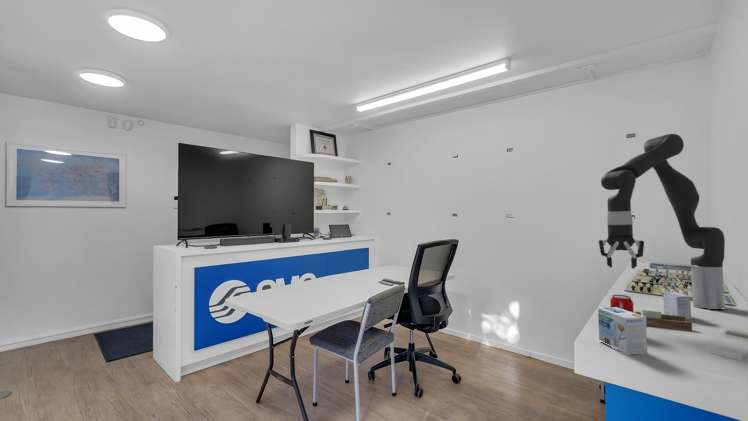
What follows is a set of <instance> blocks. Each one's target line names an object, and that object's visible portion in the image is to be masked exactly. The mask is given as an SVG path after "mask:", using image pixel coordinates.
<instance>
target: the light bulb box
mask: <svg viewBox="0 0 748 421" xmlns="http://www.w3.org/2000/svg"><path fill="white" fill-rule="evenodd" d="M597 313H598V314H597V315H598V341H599V340H601V341H603V342H605V343H607V344H609V345H611V346H613V347H615V348H617V349H618V350H620V351H621V352H622V353H621V352H620V353H621V354H623V353H624V354H623V355H626V356H632V355H631V354H640V355H648V337H647V336H648V333H647V332H648V331H647V325H646V317H645V316H642V315H639V314H636V313H635V312H634V313H633V312H630V311H627V310H624V309H621V308H618V307H611V306H610V307H599V308H598V309H597Z"/></svg>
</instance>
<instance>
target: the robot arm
mask: <svg viewBox="0 0 748 421" xmlns="http://www.w3.org/2000/svg"><path fill="white" fill-rule="evenodd" d="M684 146H685V144H684V140H683V138H682V137H681V135H678V134H676V133H668V134H664V135H659V136H657V137H654V138H650V139H647V140H646V141H645V142H644V144H643V150H644V152H643V153H641V154H639V155H637V156H634V157H633V158H631V159H629V160H628V161H627V162H625V163H624V164H622V165H620V166H618V167H615V168H613V169H610V170H609V171H607V172H605V173H604V174H603V175H602V177H601V179H600V184H601V187H602V188H603V189H605V190H608V191H615V190H616V191H617V190H618V192H617V194H615V195H611V196H609V197H608V198H607V216H606V219H607V221H606V222H607V238H606V239H599V240H598V246H599V247H598V248H599V252H600V255H601V256H603V257H606V264H607V267H609V268H610V269H611V268H613V258H612V255H613V254H614V252H615V251H627V253H629V255H630V256H631V257H630V267H631V269H635V268H637V266H638V263H637V262H638V261H637V259H638V258H641V257H642V258H643V256H644V248H645V241H644V240H640V239H639V240H636V239H635V238H634V233H633V232H634V231H633V223H634V222H633V217H632V216H633V215H632V209H631V208H632V206H631V204H632V203H631V200H632V197H633V192H634V189H635V186H636V179H639V177H641V176H642V175H644V174H646V173H647V172H648V171H649V170H650V169H652V168H653V170H654V171H655V174H657V177H658V178H659V181H660V182H661V185H662V187H663V189H664V192H665V195H666V197H667V198H668V201H669V203H670V204H671V207H672V209H673V213H674V214H675V216H676V219H677V222H678V224H679V228H680V231H681V235H682V237H683V240H684V241H685V244H686V245H687V246H689V247H690V248H692V249H696V250H697V249H698V250H699V249H700V250H703V252H702V254H701V255H699V256H694V257H691V258H690V269H691V287H692V288H691V291H692V292H691V293H692V306H694V307H696V308H699V307H701V308H700V309H703V308H707V309H706V310H710V309H722V308H725V307H726V306H725V289H724V287H725V286H724V285H725V284H724V267H723V266H724V265H723V263H724V260H725V249H726V248H725V247H726V246H725V244H726V242H725V241H726V239H725V234H724V232H723V231H722V230H721V229H720V228H719V227H714V226H713V227H712V226H699V224H698V222H697V220H696V216H695V213H696V210H697V208H698V205H699V203H700V195H699V191H698V190H697V188H696V185H695V183H694V182H693V181H692V180H691V179H690V178H689V177H687V176H686V175H685V174H683V173H681V172H680V171H678V170H676V169H675V168H674V167H673V166H672V165H671V164H670V163H669V161H668V159H670V158H673V157H675V156H678V155H680V153H682V151H683V149H684ZM606 243H607V244H608V245H609V246H610V247H609V249H608V251H607V252H605V248H604V247H605V246H606ZM634 244H635V245H636V247H637V253H635V251H634V250H633V248H632V247H633V245H634Z"/></svg>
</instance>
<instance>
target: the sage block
mask: <svg viewBox="0 0 748 421" xmlns="http://www.w3.org/2000/svg"><path fill="white" fill-rule="evenodd" d="M639 309H640V312H641V315H642V316H645V317H646V318H656V319H661V314H662V311H661V310H660V309H659V308H656V307H645V306H640V308H639Z"/></svg>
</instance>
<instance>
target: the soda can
mask: <svg viewBox="0 0 748 421" xmlns="http://www.w3.org/2000/svg"><path fill="white" fill-rule="evenodd" d="M631 298H632V297H631V296H629V295H626V294H612V295H611V298H610V299H609V300H610V308H611V307H618V308H621V309H624V310H627V311H630V312H633V313H635V311H634V310H635V309H634V301H633V300H632V299H631Z"/></svg>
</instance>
